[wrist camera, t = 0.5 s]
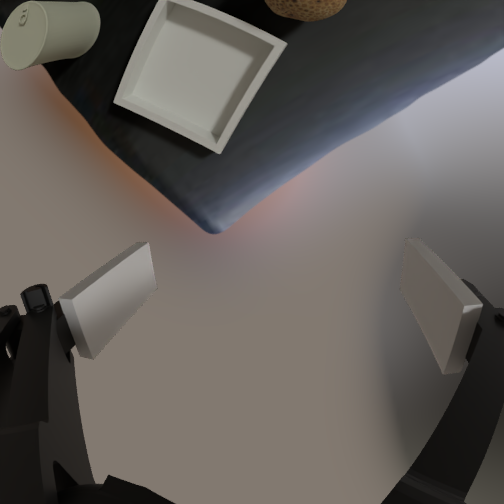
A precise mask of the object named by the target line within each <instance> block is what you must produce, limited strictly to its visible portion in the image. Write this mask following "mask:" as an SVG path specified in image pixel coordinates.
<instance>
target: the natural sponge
mask: <svg viewBox="0 0 504 504" xmlns="http://www.w3.org/2000/svg"><path fill="white" fill-rule="evenodd" d="M346 1H347V0H265V2H266V4H267V5H268V6H269V8H270V9H271V10H272V11H273V12H274V13H276V14H278V15H280V16H283V17H288V18H293V19H298V20H302V21H318V20H322V19H325V18H328V17H330V16H332V15H334V14H336V13H337V12H339V11H340V10H341V9H342V8H343V6H344V5H345V3H346Z"/></svg>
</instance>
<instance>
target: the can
mask: <svg viewBox="0 0 504 504" xmlns="http://www.w3.org/2000/svg"><path fill="white" fill-rule="evenodd" d="M99 30H100V16H99V13H98V11H97V9H96V8H95V7H94V6H93V5H92V4H90V3H87V2H40V1H28V2H25V3H23V4H21V5H20V6H18V7H17V8H16V9H15V10H14V11H13V12H12V13H11V15H10V16H9V18H8V19H7V21H6V23H5V26H4V28H3V32H2V36H1V54H2V57H3V60H4V62H5V63H6V65H7V66H8V67H10V68H11V69H13V70H22V69H25V68H28V67H31V66H34V65H38V64H42V63H46V62H51V61H55V60H60V59H66V58H76V57H79V56H81V55H83V54H84V53H86V52H87V51H88V50H89V49H90V48H91V47H92V45H93V44H94V42H95V41H96V39H97V36H98V34H99Z"/></svg>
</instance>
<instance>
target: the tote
mask: <svg viewBox="0 0 504 504" xmlns="http://www.w3.org/2000/svg"><path fill="white" fill-rule="evenodd" d="M286 46H287V43H286V42H284V41H282V40H280V39H278V38H276V37H274V36H272V35H270V34H269V33H267V32H265V31H263V30H261V29H259V28H257V27H254V26H252V25H250V24H248V23H246V22H244V21H242V20H239V19H237V18H235V17H233V16H230V15H228V14H226V13H223V12H221V11H219V10H216V9H214V8H211V7H209V6H206V5H203V4H201V3H198V2H195V1H193V0H159V1H158V3H157V5H156V6H155V8H154V10H153V12H152V14H151V16H150V18H149V20H148V22H147V24H146V26H145V28H144V30H143V32H142V34H141V36H140V38H139V40H138V43H137V45H136V47H135V49H134V52H133V54H132V56H131V58H130V61H129V63H128V66H127V68H126V70H125V73H124V75H123V78H122V80H121V83H120V86H119V88H118V91H117V94H116V96H115V99H114V102H113V103H115V104H117V105H120V106H122V107H124V108H126V109H129V110H131V111H133V112H135V113H137V114H139V115H142V116H144V117H146V118H148V119H150V120H152V121H154V122H156V123H159V124H161V125H163V126H165V127H167V128H169V129H171V130H173V131H175V132H177V133H179V134H181V135H183V136H185V137H187V138H189V139H191V140H193V141H195V142H197V143H199V144H201V145H203V146H205V147H207V148H209V149H210V150H212V151H214V152H216V153H218V154H221V152H222V150H223V149H224V147H225V146H226V144H227V142H228V140H229V139H230V137H231V135H232V133H233V132H234V130H235V128H236V126H237V125H238V123H239V121H240V120H241V118H242V116H243V114H244V113H245V111H246V109H247V108H248V106H249V104H250V103H251V101H252V99H253V98H254V96H255V95H256V93H257V91H258V90H259V88H260V86H261V85H262V83H263V82H264V80H265V78H266V77H267V75H268V74H269V72H270V70H271V69H272V67H273V66H274V64H275V63H276V61H277V60H278V58H279V56H280V55H281V53H282V52H283V50H284V49H285V47H286Z"/></svg>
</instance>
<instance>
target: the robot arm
mask: <svg viewBox="0 0 504 504" xmlns="http://www.w3.org/2000/svg"><path fill="white" fill-rule="evenodd" d="M156 290H157V284H156V279H155V274H154V269H153V264H152V259H151V253H150V247H149V242H137V243H135V244H134V245H132V246H131V247H129V248H128V249H126V250H125V251H123V252H122V253H120V254H119V255H118V256H116V257H115V258H113V259H112V260H110V261H109V262H108V263H106V264H105V265H103V266H102V267H101V268H99V269H98V270H96V271H95V272H93V273H92V274H91V275H89V276H88V277H86V278H85V279H84V280H82V281H81V282H80V283H78V284H77V285H76V286H74V287H73V288H72V289H70V290H69V291H68V292H66V293H65V294H63V295H62V296H61V297H60V298H59V301H57V302H56V303H55V304H54V305H53V302H52V299H51V296H50V293H49V290H48V287H47V285H46V284H37V285H34V286H31V287H29V288H27V289H25V290H24V291H23V292H22V293H21V294H20V295H21V298H22V300H23V304H24V306H25V309H26V312H27V314H26V315H20V314H19V311H18V309H17V306H15V305H9V306H7V305H6V306H4V307H2V308H0V504H175V503H173V502H171V501H169V500H167V499H165V498H163V497H162V496H160V495H158V494H156V493H154V492H152V491H151V490H149V489H147V488H146V487H143V486H139V485H136V484H132V483H130V482H127V481H124V480H121V479H119V478H116V477H113V476H110V475H108V476H107V478H106V480H105V482H104V484H95V481H94V479H93V475H92V471H91V467H90V463H89V459H88V454H87V449H86V445H85V440H84V435H83V429H82V423H81V417H80V410H79V403H78V396H77V389H76V388H77V387H76V379H75V367H74V357H73V354H72V352H71V349H72V347H74V346H75V345H76V347H77V350H78V352H79V355H80V356H81V357H85V358H89V359H94V358H95V357H96V356H97V355H98V354H99V353H100V352H101V350H102V349H103V348H104V347H105V346H106V345H107V344H108V343H109V341H110V340H111V339H112V338H113V337H114V336H115V335H116V333H117V332H118V331H119V330H120V329H121V328H122V327H123V326H124V325H125V323H126V322H127V321H128V320H129V319H130V318H131V317H132V316H133V315H134V313H135V312H136V311H137V310H138V309H139V308H140V307H141V306H142V305H143V304H144V303H145V302H146V300H147V299H148V298H149V297H150V296H151V295H152V294H153V293H154V292H155V291H156ZM400 291H401V292H402V294H403V296H404V298H405V300H406V302H407V304H408V305H409V307H410V309H411V311H412V313H413V315H414V317H415V318H416V320H417V322H418V324H419V326H420V328H421V330H422V332H423V334H424V336H425V338H426V340H427V342H428V344H429V346H430V348H431V350H432V352H433V354H434V356H435V359H436V361H437V363H438V365H439V367H440V369H441V371H442V374H451V373H457V372H461V370H462V367H463V365H464V362H465V359H467V361H468V363H469V364H468V367H467V369H466V371H465V373H464V376H463V378H462V380H461V382H460V384H459V386H458V388H457V390H456V392H455V394H454V396H453V398H452V400H451V402H450V404H449V406H448V408H447V409H446V411H445V413H444V415H443V417H442V419H441V420H440V422H439V424H438V425H437V427H436V429H435V431H434V432H433V434H432V435H431V437H430V439H429V440H428V442H427V444H426V445H425V447H424V448H423V450H422V451H421V453H420V455H419V456H418V457H417V459H416V460H415V462H414V463H413V464H412V466H411V467H410V469H409V470H408V471H407V473H406V474H405V475H404V476H403V477H402V478H401V480H400V481H399V482H398V483H397V484H396V486H395V487H394V488H393V489H392V491H391V492H390V493H389V494H388V496H387V497H386V498H385V499H384V501H383V502H382V503H381V504H466V503H465V502H464V500H465V497H466V495H467V493H468V491H469V489H470V487H471V485H472V483H473V481H474V479H475V477H476V475H477V472H478V470H479V468H480V466H481V464H482V461H483V459H484V457H485V454H486V452H487V449H488V447H489V444H490V442H491V439H492V436H493V433H494V431H495V428H496V425H497V422H498V419H499V416H500V413H501V409H502V406H503V403H504V309H503V308H494V307H493V306H492V305H491V304H490V303H489V301H488V300H487V299H486V298H485V297H484V296H483V295H482V294H481V293H480V292H479V291H478V290H477V289H476V288H475V286H474V285H473V284H471V283H469V282H468V281H466V280H464V279H460V278H459V277H458V276H457V275H456V274H455V273H454V272H453V271H452V270H451V269H450V268H449V267H448V266H447V265H446V264H445V263H444V262H443V261H442V260H441V259H440V258H439V257H438V256H437V255H436V254H435V253H434V252H433V251H432V250H431V249H430V248H429V247H428V246H427V245H426V244H425V243H424V242H422V240H420V239H419V238H406V239H405V248H404V258H403V268H402V275H401V283H400ZM6 346H7V349H8V351H9V353H10V355H11V357H10V358H9V356H8V355H7V351H6Z"/></svg>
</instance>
